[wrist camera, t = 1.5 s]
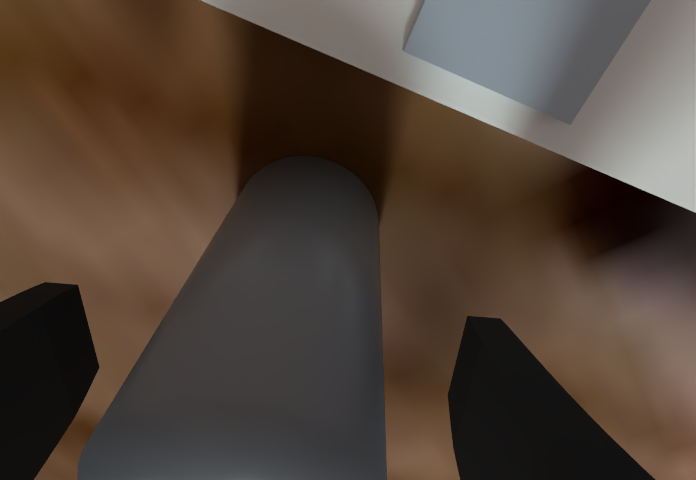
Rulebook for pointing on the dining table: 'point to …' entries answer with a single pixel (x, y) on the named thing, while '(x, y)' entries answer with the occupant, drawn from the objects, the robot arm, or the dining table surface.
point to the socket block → (530, 70)
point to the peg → (264, 346)
